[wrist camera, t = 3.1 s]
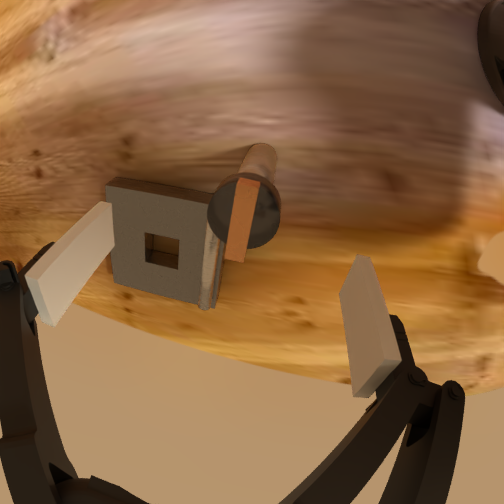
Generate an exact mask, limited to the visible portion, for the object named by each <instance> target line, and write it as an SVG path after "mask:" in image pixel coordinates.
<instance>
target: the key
mask: <svg viewBox="0 0 504 504" xmlns="http://www.w3.org/2000/svg"><path fill="white" fill-rule="evenodd" d="M276 164H277V153H276V151H275V150H274V148H273V147H271V146H270V145H268V144H265V143H259V144H255V145H253V146H252V147H251V148H250V149H249V151H248V153H247V154H246V156H245V158H244V160H243V162H242V164H241V166H240V168H239V170H238V172H237V173H236V174H233V175H231V176H229V177H227V178H226V179H225V180H223V181H222V182H221V184H220V185H219V186H218V188H217V190H216V191H215V193H214V195H213V197H212V198H211V200H210V202H209V205H208V209H207V220H208V223H209V226H210V228H211V230H212V232H213V233H214V234H215V235H216V236H217V238H219V239H220V240H221V241H222V242H224V243H226V244H227V245H226V251H225V258H224V259H228V260H232V261H237V262H242V263H244V259H245V254H246V250H247V249H252V248H256V247H260V246H262V245H264V244H266V243H267V242H268V241H270V240H271V239H272V238H273V237H274V235H275V234H276V232H277V230H278V227H279V223H280V212H281V199H280V195H279V193H278V191H277V189H276V187H275V186H274V185H273V184H274V178H275V171H276Z"/></svg>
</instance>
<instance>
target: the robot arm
mask: <svg viewBox="0 0 504 504" xmlns="http://www.w3.org/2000/svg"><path fill="white" fill-rule="evenodd" d="M478 47H479V53H480V58H481V62H482V65H483V68H484V71H485V74H486V76H487V79H488V81H489V83H490V85H491V87H492V89H493V91H494V92H495V94H496V96H497V97H498V99H499V100H500V101H501V103H502V104H503V105H504V0H493V1H491V2H490V3H489V4H488V5H486V7H485V8H484V10H483V11H482V13H481V16H480V19H479V24H478ZM114 246H115V244H114V232H113V217H112V203H108V202H102V201H100V202H99V203H97V204H96V205H95V206H94V207H93V208H92V209H91V210H90V211H88V212H87V213H86V214H85V215H84V216H83V217H82V218H81V219H80V220H79V221H77V222H76V223H75V224H74V225H73V226H72V227H71V228H70V229H69V230H68V231H67V232H66V233H65V234H64V235H63V236H62V237H61V238H60V239H59V240H58V241H57V242H56V243H55V242H51V243H49V244H47V245H46V246H44V247H43V248H42V249H41V250H40V251H39V252H38V253H37V254H36V255H35V256H34V257H33V259H31V260H30V261H29V262H28V263H27V264H26V265H25V266H24V267H23V269H22V270H21V271H20V272H19V273H18V274H17V271H16V268H15V265H14V263H13V262H12V261H8V260H6V261H1V262H0V421H1V427H2V434H3V436H2V438H1V439H0V458H1V462H2V466H3V470H4V473H5V477H6V480H7V484H8V487H9V490H10V493H11V496H12V499H13V502H14V504H149V503H147V502H145V501H143V500H141V499H140V498H138V497H136V496H134V495H132V494H131V493H129V492H128V491H126V490H124V489H123V488H121V487H120V486H117V485H115V484H111V483H109V482H107V481H104V480H102V479H99V478H97V477H95V476H92V475H91V478H90V479H87V478H86V479H85V478H78V476H77V473H76V471H75V469H74V467H73V465H72V464H71V462H70V461H69V459H68V457H67V455H66V453H65V450H64V447H63V444H62V441H61V438H60V435H59V432H58V428H57V425H56V422H55V418H54V415H53V411H52V407H51V403H50V399H49V394H48V390H47V385H46V381H45V376H44V371H43V366H42V360H41V354H40V347H39V340H38V333H37V324H36V321H35V317H36V316H37V314H38V313H39V316H40V318H41V321H42V322H43V323H45V324H48V325H50V326H52V327H55V326H56V324H57V323H58V321H59V320H60V318H61V317H62V315H63V314H64V312H65V311H66V310H67V308H68V307H69V305H70V304H71V302H72V301H73V300H74V298H75V297H76V295H77V294H78V293H79V291H80V290H81V289H82V287H83V286H84V285H85V283H86V282H87V281H88V279H89V278H90V277H91V275H92V274H93V273H94V271H95V270H96V269H97V267H98V266H99V265H100V264H101V262H102V261H103V260H104V258H105V257H106V256H107V255H108V253H109V252H110V251H111V250H112V248H113V247H114ZM339 296H340V302H341V309H342V315H343V321H344V328H345V335H346V342H347V349H348V357H349V365H350V374H351V382H352V391H353V397H363V398H369V397H370V396H371V395H372V394H373V393H374V392H375V391H376V397H377V399H376V400H375V401H374V402H373V403H372V404H371V405H370V406H369V407H368V408H367V409H366V412H365V413H364V415H363V416H362V417H361V419H360V420H359V421H358V422H357V423H356V424H355V426H354V427H353V428H352V429H351V430H350V432H349V433H348V434H347V435H346V436H345V437H344V439H343V440H342V441H341V442H340V443H339V444H338V446H337V447H336V448H335V449H334V450H333V451H332V452H331V453H330V454H329V455H328V456H327V458H326V459H325V460H324V461H323V462H322V463H321V464H320V465H319V466H318V467H317V468H316V469H315V470H314V471H313V472H312V473H311V474H310V475H309V476H308V477H307V478H306V479H305V480H304V481H303V482H302V483H301V484H300V485H299V486H298V487H297V488H295V489H294V490H293V491H292V492H291V493H290V494H289V495H288V496H287V497H286V498H284V499H283V500H282V501H281V502H280V503H279V504H350V503H351V502H352V501H353V500H354V498H355V497H356V496H357V495H358V494H359V492H360V491H361V490H362V489H363V487H364V486H365V485H366V484H367V482H368V481H369V480H370V478H371V477H372V476H373V474H374V473H375V472H376V470H377V469H378V468H379V466H380V465H381V463H382V462H383V461H384V459H385V458H386V456H387V455H388V453H389V452H390V450H391V449H392V447H393V446H394V444H395V443H396V441H397V440H398V438H399V436H400V435H401V433H402V432H403V430H404V428H405V427H406V425H407V427H406V431H405V434H404V437H403V440H402V443H401V447H400V450H399V452H398V455H397V459H396V461H395V464H394V467H393V469H392V472H391V475H390V477H389V480H388V482H387V485H386V487H385V490H384V492H383V494H382V497H381V499H380V501H379V504H445V503H446V500H447V496H448V493H449V489H450V485H451V481H452V477H453V473H454V468H455V463H456V459H457V454H458V448H459V442H460V436H461V430H462V422H463V414H464V405H465V393H464V390H463V388H462V387H461V386H460V384H458V383H457V382H456V381H452V380H449V381H446V382H445V383H444V384H443V385H442V386H440V385H438V384H435V383H432V382H430V381H428V378H427V376H426V374H425V373H424V372H423V371H422V370H421V369H420V368H418V367H416V366H415V362H414V359H413V355H412V352H411V348H410V345H409V342H408V338H407V335H406V332H405V329H404V326H403V323H402V322H401V321H400V319H399V318H398V317H397V316H396V315H390V314H389V313H388V310H387V307H386V303H385V300H384V297H383V294H382V291H381V288H380V285H379V282H378V279H377V276H376V273H375V270H374V267H373V264H372V262H371V259H370V257H366V256H362V255H358V254H357V255H356V258H355V260H354V262H353V264H352V267H351V269H350V271H349V273H348V276H347V278H346V280H345V282H344V284H343V286H342V289H341V291H340V293H339ZM407 423H408V424H407Z"/></svg>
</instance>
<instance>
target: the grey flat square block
mask: <svg viewBox="0 0 504 504" xmlns="http://www.w3.org/2000/svg"><path fill="white" fill-rule="evenodd" d="M105 191H106V202H108V203H112V217H113V232H114V244H115V246H114V247H113V248H112V250H111V251H110V254H111V262H112V270H113V278H114V283H117V284H121V285H124V286H128V287H131V288H135V289H139V290H142V291H146V292H150V293H153V294H157V295H161V296H165V297H169V298H173V299H177V300H181V301H185V302H189V303H193V304H197V305H198V307H199V308H200V309H202V310H208V309H210V308H214V309H215V306H216V303H217V299H218V296H219V290H220V283H221V277H222V270H223V264H224V257H225V251H226V245H227V244H226V243H224V242H222V241H221V240H220V239H219V238H217V236H216V235H215V234H214V233H213V232H212V230H211V228H210V226H209V223H208V220H207V209H208V205H209V202H210V200H211V198H212V197H213V195H214V194H209V193H204V192H199V191H194V190H189V189H183V188H178V187H172V186H167V185H161V184H155V183H150V182H144V181H138V180H132V179H126V178H119V177H116V178H114V179H113V180H112V181H110V182H109V183H108V184H106V185H105ZM153 234H155V235H160V236H164V237H169V238H173V239H178V240H179V256H175V255H171V254H166V253H162V252H158V251H154V250H153Z"/></svg>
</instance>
